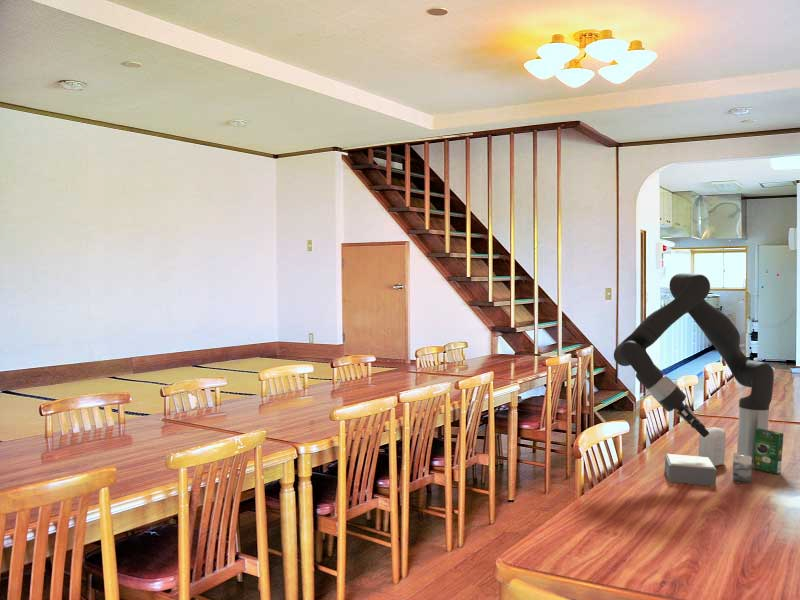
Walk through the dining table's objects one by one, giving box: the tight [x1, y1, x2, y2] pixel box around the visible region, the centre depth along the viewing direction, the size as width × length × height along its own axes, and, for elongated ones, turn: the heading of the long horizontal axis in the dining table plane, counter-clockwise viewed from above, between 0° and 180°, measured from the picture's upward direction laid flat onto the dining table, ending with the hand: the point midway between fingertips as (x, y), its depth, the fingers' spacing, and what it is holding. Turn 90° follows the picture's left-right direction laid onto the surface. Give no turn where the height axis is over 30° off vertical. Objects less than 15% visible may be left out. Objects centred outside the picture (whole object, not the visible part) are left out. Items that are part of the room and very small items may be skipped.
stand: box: [664, 453, 717, 487], centre depth 214 cm, size 13×13×6 cm
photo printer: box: [698, 426, 727, 467], centre depth 230 cm, size 10×4×12 cm, turn 123°
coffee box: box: [752, 428, 784, 475], centre depth 223 cm, size 8×3×13 cm, turn 33°
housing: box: [732, 452, 753, 484], centre depth 212 cm, size 5×5×8 cm
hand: (704, 432), depth 214 cm, fingers open, 8 cm apart
